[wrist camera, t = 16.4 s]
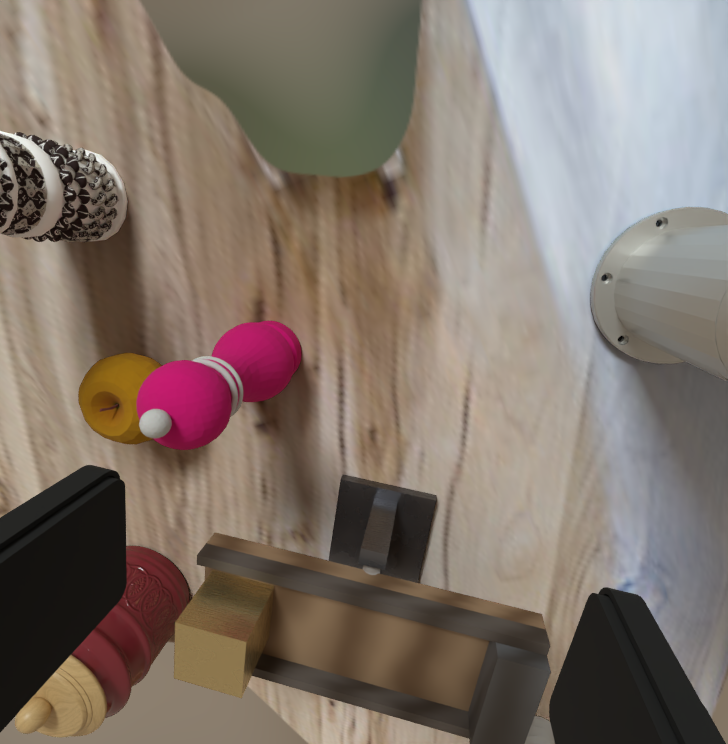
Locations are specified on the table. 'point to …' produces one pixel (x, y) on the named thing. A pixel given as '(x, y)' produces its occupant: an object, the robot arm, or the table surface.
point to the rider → (223, 633)
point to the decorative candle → (57, 191)
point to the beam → (394, 643)
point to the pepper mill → (216, 384)
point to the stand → (381, 527)
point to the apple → (115, 396)
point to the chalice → (540, 732)
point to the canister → (111, 652)
